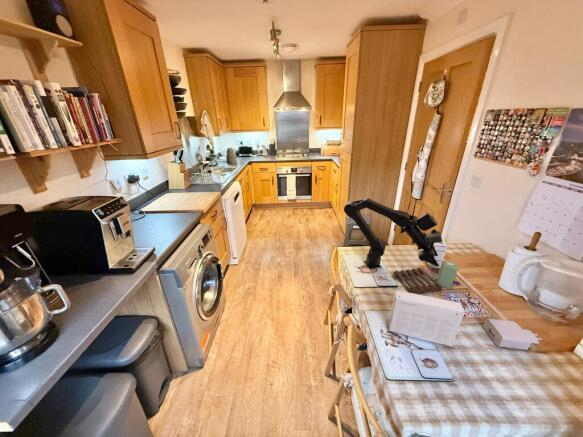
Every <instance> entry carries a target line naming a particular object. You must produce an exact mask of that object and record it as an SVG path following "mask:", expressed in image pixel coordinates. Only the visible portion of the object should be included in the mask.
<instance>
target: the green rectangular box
mask: <svg viewBox="0 0 583 437" xmlns="http://www.w3.org/2000/svg"><path fill="white" fill-rule="evenodd" d="M457 272H458V264H457V262H452V261H448V260H444V259H443V261H442V264H441V267H440V268H439V270H438V274H437V277H436V282H437V283H439V284H440V285H441V286H442V288H447V289H452V287H453V284H454V282H455V278H456V277H457V276H456V275H457Z"/></svg>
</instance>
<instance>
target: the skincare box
mask: <svg viewBox="0 0 583 437" xmlns="http://www.w3.org/2000/svg"><path fill="white" fill-rule="evenodd" d="M465 314H466V312H465V309H464V307H463V305H462V303H461V302H457V301H453V300H448V299H442V298H438V297H433V296H428V295H423V294H413V293H408V291H402V290H397V289H395V290H394V293H393V299H392V304H391V309H390V312H389V318H388V331H389V332H392V333H396V334H400V335H404V336H407V337H410V338H411V337H412V338H415V339H419V340H423V341H427V342H431V343H435V344H439V345H442V346H447V347H451V348H452V347H453V346H454V343H455V340H456V338H457V335H458V333H459V329H460V328H461V327H460V326H461V324H462V321H463V318H464V317H465V316H464V315H465Z"/></svg>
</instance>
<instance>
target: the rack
mask: <svg viewBox="0 0 583 437" xmlns="http://www.w3.org/2000/svg"><path fill="white" fill-rule="evenodd" d="M412 277H413V278H412ZM392 278H394V279H400V280H402V281H403V283H405V284H406V285H407V287H409V288H408V290H407V292H408V293H413V294H418V295H423V294H428V293H435V292H441V291H442V289H443V286H441V285H440V284H439V283H437V280H435V279H434V278H433V277H432V276H431V275H430V274H429V273H427V272H426V271H425V270H424V269H423V268H422V267H417V268H411V269H409V268H407V269H406V270H405V269H400V270H399V271H398V270H395V271H393V272H392ZM406 278H407V279H406ZM420 278H421V279H420ZM414 279H415V280H414ZM409 281H410V282H411V283H410V282H409ZM430 281H431V282H430ZM424 282H425V283H424ZM413 285H414V286H415V287H414V286H413Z"/></svg>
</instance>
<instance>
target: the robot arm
mask: <svg viewBox="0 0 583 437" xmlns="http://www.w3.org/2000/svg"><path fill="white" fill-rule="evenodd" d="M363 209H368V210H370V211H373V212H375V213H377V214H379V215H380V216H383V217H386V218H387V219H389V220H390V221H391V222H392V223H393V224H395V225H397V226H398V227H400V231H399V232H400V234H403V233H405V234H406V235H407V236H408V237H409V238H410V240H411V243H412V244H414V245H415V246H416V249H417V250H418V259H419V260H420V262H425V263H427V262H428V263H430V264H433V265H435V266H439V264H438V263H437V261H436V259H435V257H434V256H438V254H437V252H436V250H435V248H434V245H433V244H434V243H441V242H442V240H443V237H442V233H441V232H440V231H439V230H437V229H435V228H434V227H436V226H438V222H437V220H436V219H435V217H434V216H432V215H431V214H429V212H426V213H424V214H423V215H421V216H419V217H418V216H416V215H412V214H410V213H409V212H407V211H403V210H400V209H393V208H391V207H388V206H386V205H384V204H382V203H380V202H377V201H375V200H373V199H371V198H369V197H365V198H361V199H356V200H349V201H348V202H347V203H346V204H345V206H344V207H343V212H344V214H345V215H347V217H348V218H350V219H352V220H353V221H354V223H355V224H356V225H357V227H358V228H359V230H360V232H361V233H362V235H363V236H364V237H365V239H366V241H367V242H368V245H369V249H368V252H367V254H366V258H365V260H364V263H365V265H366V266H367V267H368V268H369V269H377V268H381V267H382V266H381V265H380V264H381V261H382V256H384V255H385V252H386V248H387V246H386V244H387V243H386V242H385V241H384V239H383V237H377V235H376V234H375V232H374V231H373V230H372V229H371V227H370V225H369V224H368V222H367V221H366V220H365V218H364V217H363V215H362V213H361V212H362V211H361V210H363ZM432 228H433V229H432ZM430 229H431V231H430V232H429V233H426V231H428V230H430Z"/></svg>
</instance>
